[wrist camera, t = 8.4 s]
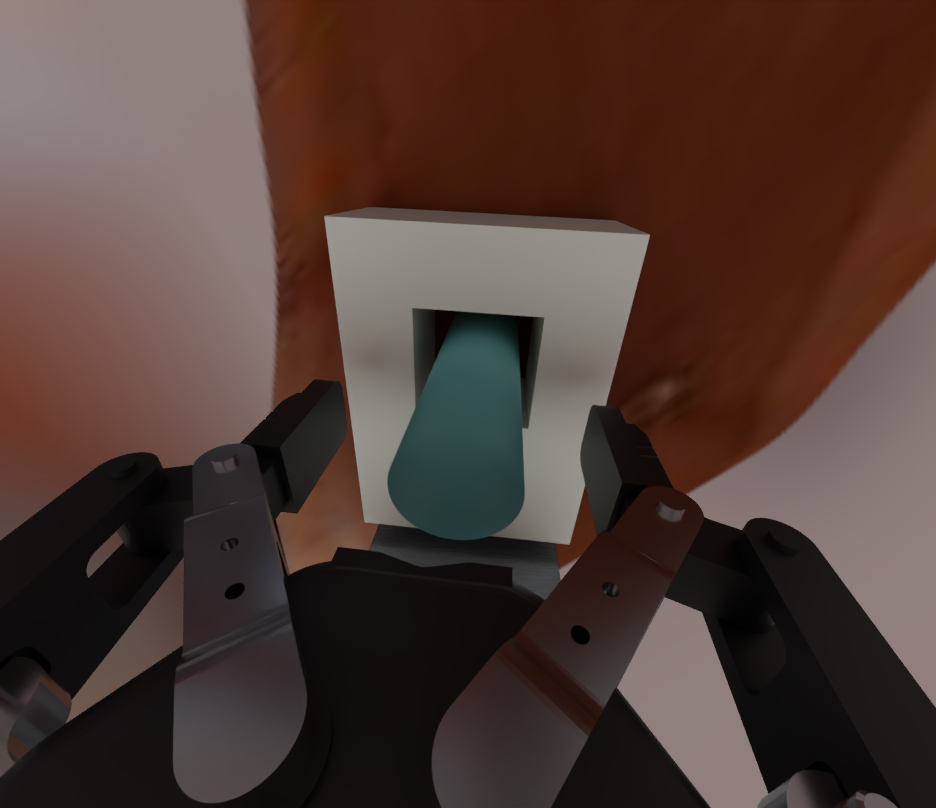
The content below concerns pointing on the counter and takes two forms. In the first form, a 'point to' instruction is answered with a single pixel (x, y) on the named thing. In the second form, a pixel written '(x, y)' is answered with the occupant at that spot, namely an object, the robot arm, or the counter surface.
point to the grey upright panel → (474, 554)
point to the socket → (482, 291)
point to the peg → (465, 435)
